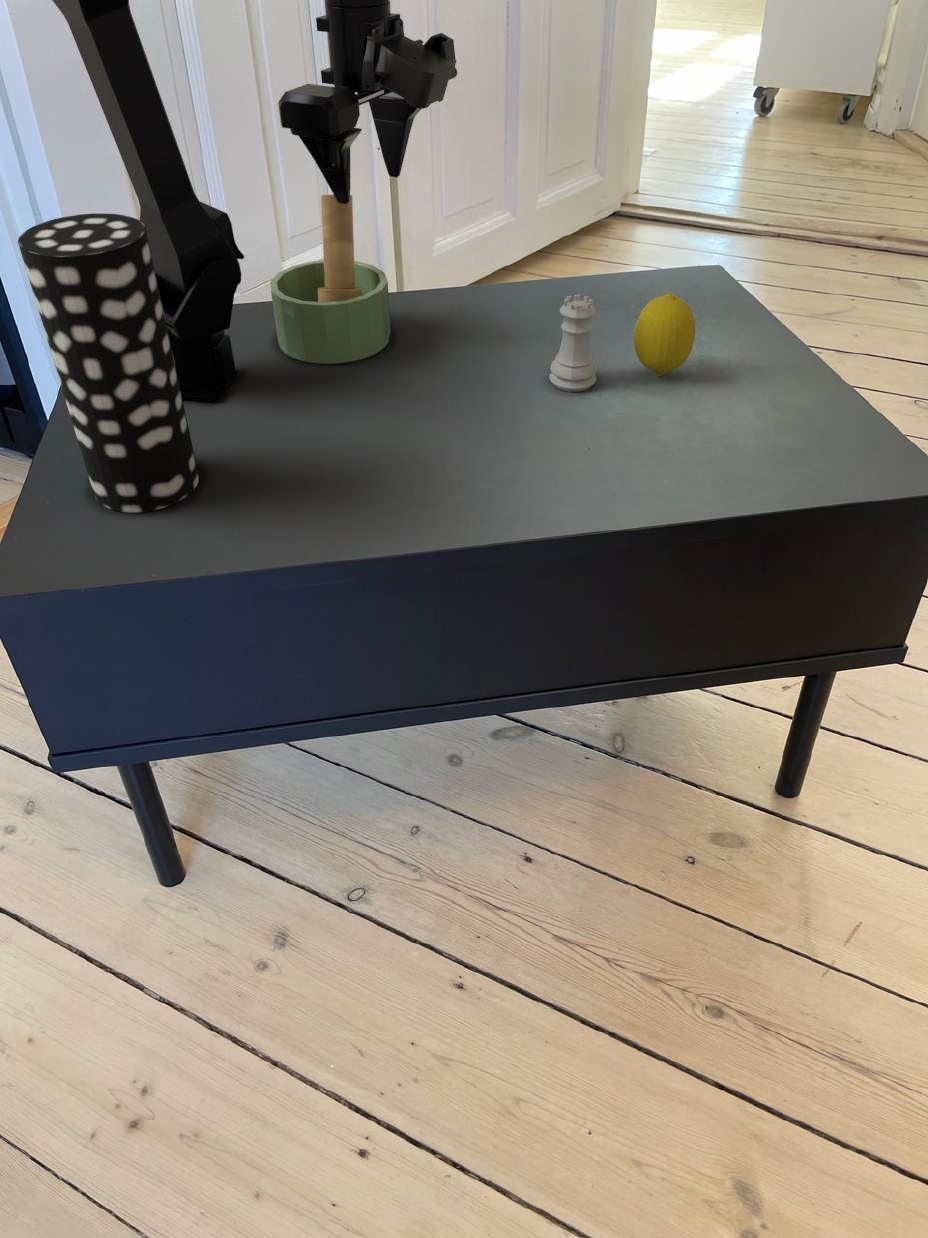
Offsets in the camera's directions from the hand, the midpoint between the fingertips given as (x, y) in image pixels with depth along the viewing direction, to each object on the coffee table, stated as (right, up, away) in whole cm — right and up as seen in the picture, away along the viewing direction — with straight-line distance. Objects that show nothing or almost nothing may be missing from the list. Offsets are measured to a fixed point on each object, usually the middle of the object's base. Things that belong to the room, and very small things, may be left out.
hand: (369, 189), depth 95 cm
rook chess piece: (+19, -20, -3) cm, 28 cm away
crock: (-4, -13, +4) cm, 15 cm away
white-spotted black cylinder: (-17, -31, -16) cm, 39 cm away
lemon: (+28, -19, -2) cm, 34 cm away
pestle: (-3, -13, +3) cm, 14 cm away
